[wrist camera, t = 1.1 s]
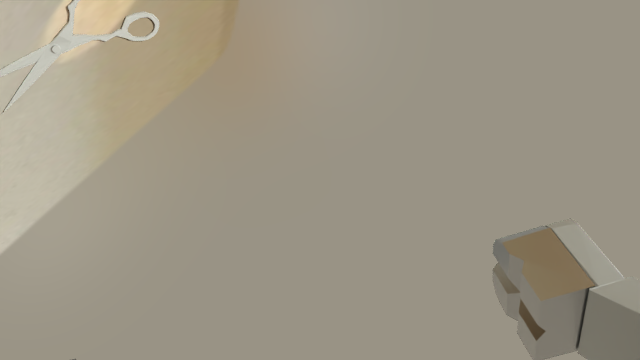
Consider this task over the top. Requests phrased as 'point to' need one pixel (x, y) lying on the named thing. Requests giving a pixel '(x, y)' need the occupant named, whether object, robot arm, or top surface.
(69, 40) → the scissors
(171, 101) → the top surface
